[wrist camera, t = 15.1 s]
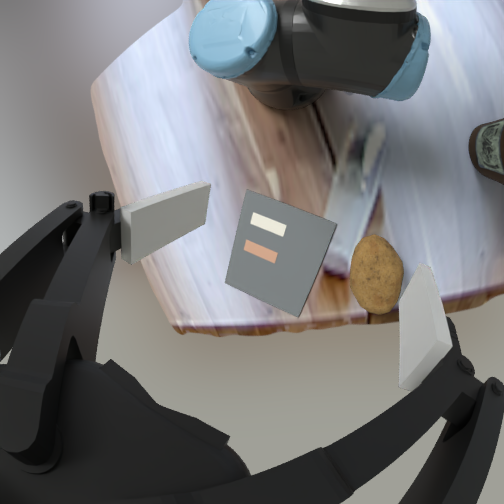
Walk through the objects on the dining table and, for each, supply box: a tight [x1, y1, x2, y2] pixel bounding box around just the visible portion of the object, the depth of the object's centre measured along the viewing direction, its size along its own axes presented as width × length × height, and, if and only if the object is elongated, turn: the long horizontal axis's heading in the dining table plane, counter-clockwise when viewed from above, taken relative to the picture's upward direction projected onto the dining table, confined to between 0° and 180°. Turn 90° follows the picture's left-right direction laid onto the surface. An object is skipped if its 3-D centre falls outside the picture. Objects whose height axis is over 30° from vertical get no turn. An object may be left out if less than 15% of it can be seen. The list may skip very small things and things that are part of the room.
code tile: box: [225, 190, 336, 317], centre depth 55 cm, size 22×18×1 cm
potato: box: [350, 235, 404, 315], centre depth 43 cm, size 10×14×8 cm
